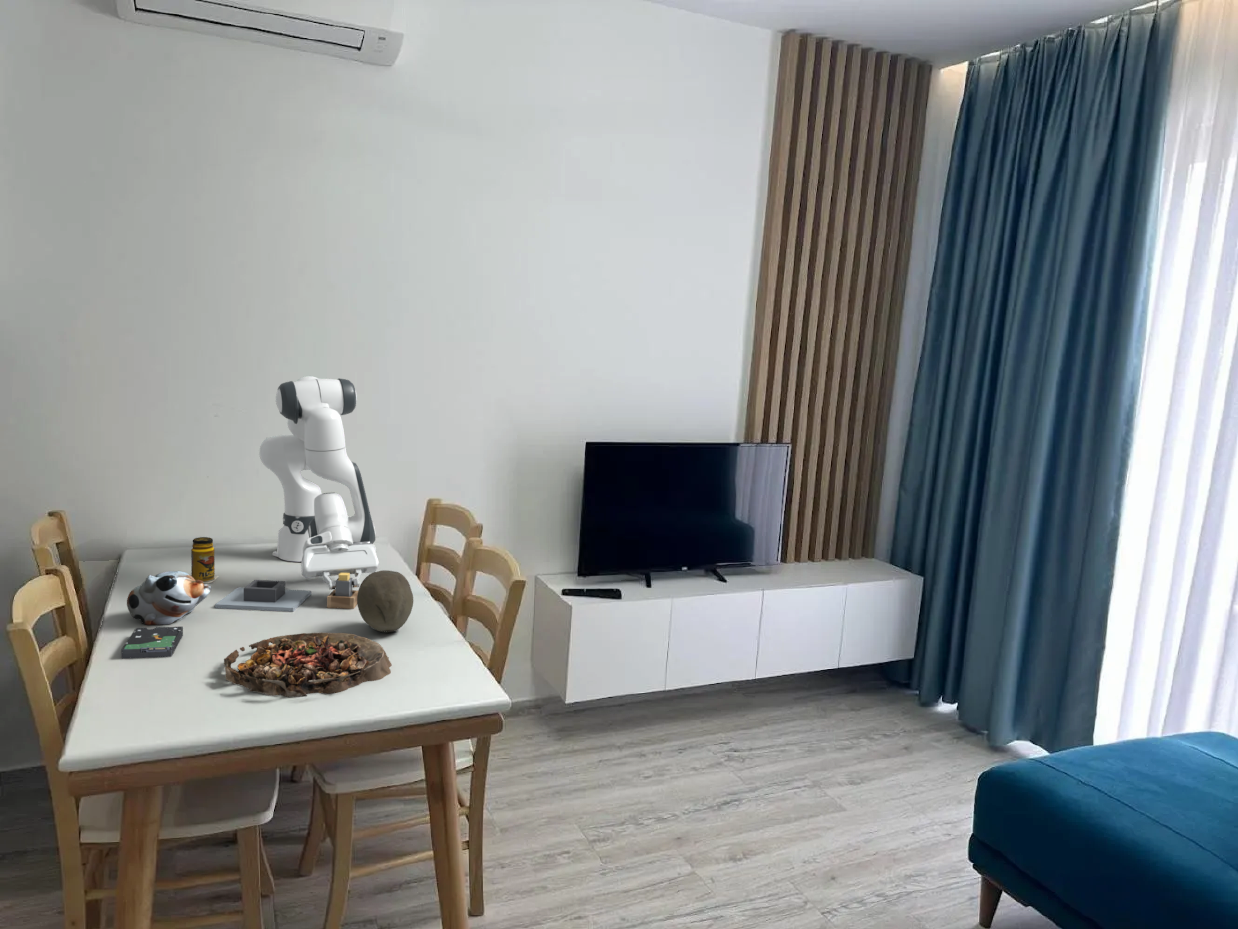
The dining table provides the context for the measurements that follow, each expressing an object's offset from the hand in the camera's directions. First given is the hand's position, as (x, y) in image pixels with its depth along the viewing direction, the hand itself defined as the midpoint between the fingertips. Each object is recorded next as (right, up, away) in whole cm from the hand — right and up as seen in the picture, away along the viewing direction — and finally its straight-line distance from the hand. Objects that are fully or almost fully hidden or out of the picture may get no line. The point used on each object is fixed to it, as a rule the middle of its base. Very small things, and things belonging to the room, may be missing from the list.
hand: (344, 587), depth 250 cm
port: (-22, -4, 0) cm, 22 cm away
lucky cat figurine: (-39, -6, -17) cm, 43 cm away
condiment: (-46, 0, +16) cm, 49 cm away
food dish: (+6, -13, -45) cm, 47 cm away
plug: (-1, -5, +1) cm, 5 cm away
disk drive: (-33, -9, -37) cm, 50 cm away
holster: (-1, -5, +1) cm, 5 cm away
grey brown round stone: (+15, -9, -17) cm, 24 cm away
